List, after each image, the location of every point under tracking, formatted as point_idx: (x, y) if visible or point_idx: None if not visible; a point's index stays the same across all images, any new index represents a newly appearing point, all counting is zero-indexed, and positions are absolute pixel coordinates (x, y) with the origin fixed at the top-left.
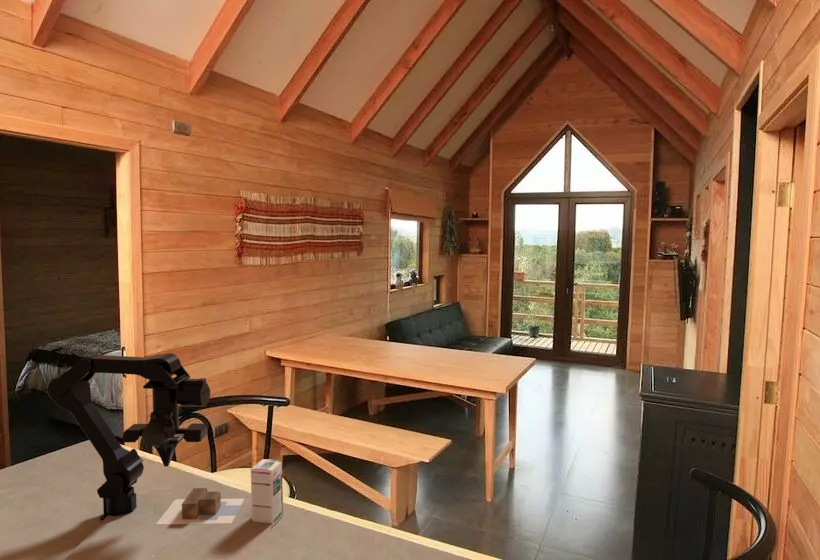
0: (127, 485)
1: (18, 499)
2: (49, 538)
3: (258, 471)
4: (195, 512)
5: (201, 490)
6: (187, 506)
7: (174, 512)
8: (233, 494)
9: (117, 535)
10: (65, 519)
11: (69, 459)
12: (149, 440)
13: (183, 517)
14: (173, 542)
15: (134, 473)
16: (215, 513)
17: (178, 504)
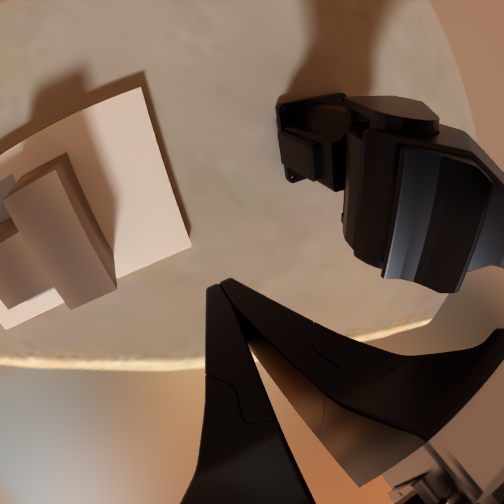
0: (352, 129)
1: None
2: (391, 16)
3: None
4: (16, 183)
5: (73, 289)
6: (36, 177)
7: (130, 179)
8: (67, 338)
9: (243, 22)
10: (405, 93)
11: None
12: None
13: (61, 156)
14: (22, 47)
15: (371, 185)
16: None
17: (157, 226)
